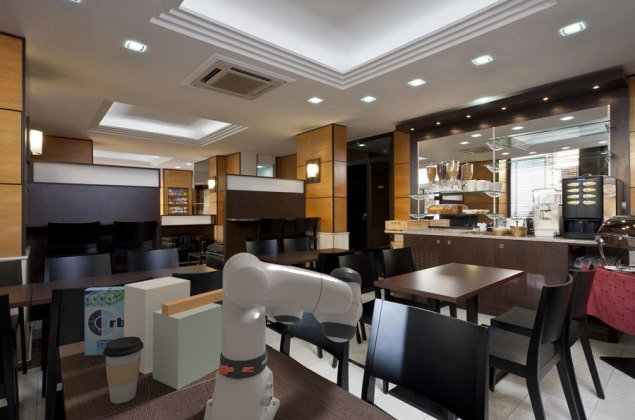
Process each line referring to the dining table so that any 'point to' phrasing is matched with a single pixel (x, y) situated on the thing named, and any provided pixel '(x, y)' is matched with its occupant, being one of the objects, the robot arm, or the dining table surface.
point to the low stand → (186, 344)
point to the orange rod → (191, 302)
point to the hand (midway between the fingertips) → (242, 290)
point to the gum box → (103, 317)
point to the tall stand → (149, 310)
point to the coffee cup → (123, 367)
